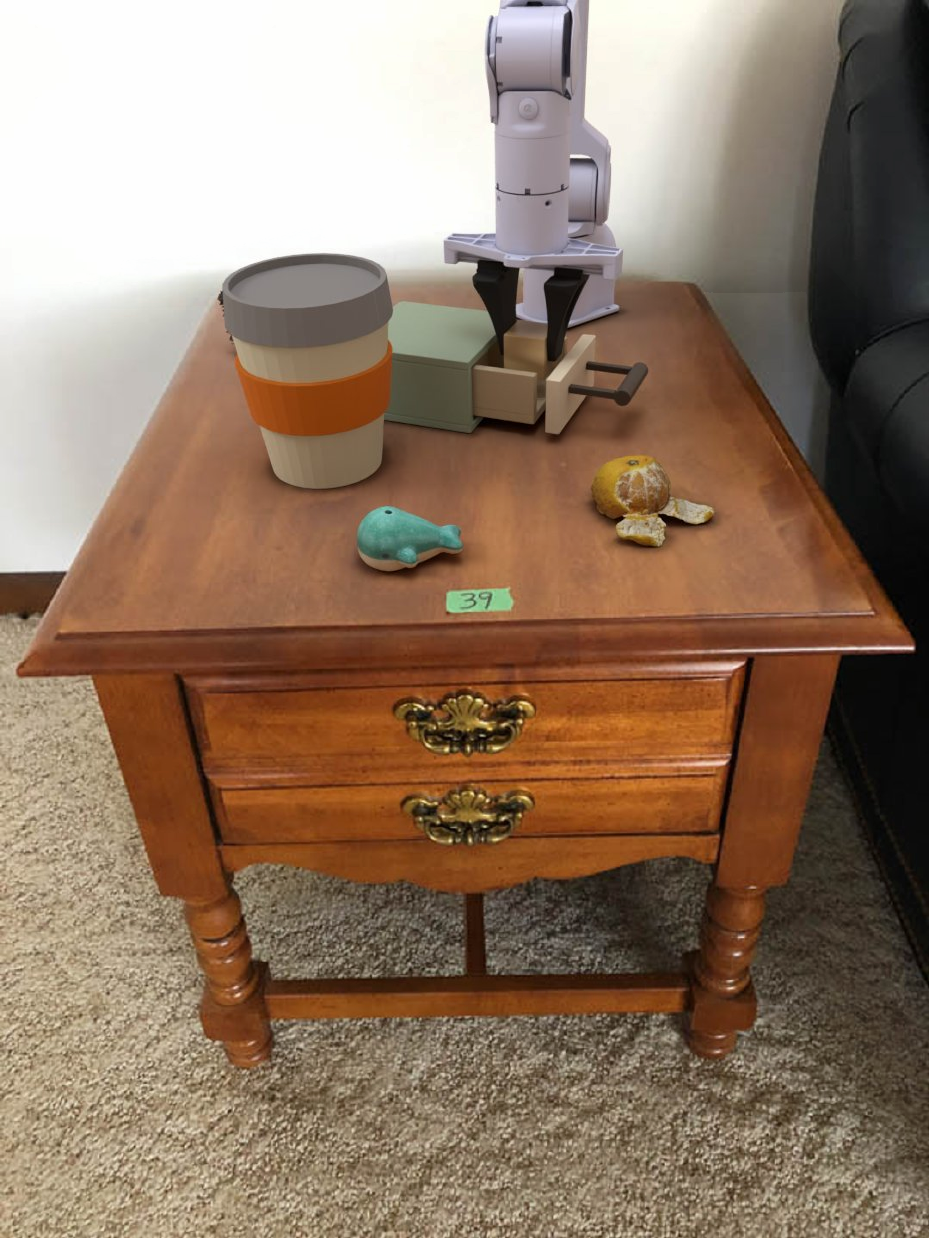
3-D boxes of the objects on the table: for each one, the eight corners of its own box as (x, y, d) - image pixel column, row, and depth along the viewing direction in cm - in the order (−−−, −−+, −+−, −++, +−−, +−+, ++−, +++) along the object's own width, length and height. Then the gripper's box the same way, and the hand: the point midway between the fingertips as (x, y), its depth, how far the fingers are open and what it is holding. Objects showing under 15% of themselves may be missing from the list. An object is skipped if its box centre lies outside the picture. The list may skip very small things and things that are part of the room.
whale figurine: (360, 537, 75) (355, 491, 73) (461, 532, 75) (459, 486, 73) (357, 582, 70) (352, 535, 68) (465, 577, 70) (463, 529, 68)
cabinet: (515, 381, 96) (515, 314, 92) (470, 433, 88) (468, 362, 84) (405, 365, 100) (400, 300, 96) (351, 415, 91) (343, 346, 87)
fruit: (637, 555, 72) (641, 509, 70) (561, 507, 77) (563, 463, 75) (721, 517, 76) (727, 473, 73) (643, 474, 81) (647, 431, 79)
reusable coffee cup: (256, 432, 89) (226, 257, 80) (401, 422, 90) (387, 247, 81) (244, 506, 79) (209, 315, 70) (407, 494, 80) (393, 303, 71)
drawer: (651, 393, 91) (656, 342, 88) (621, 444, 83) (624, 390, 81) (486, 371, 96) (485, 322, 93) (443, 417, 88) (440, 365, 86)
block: (557, 364, 89) (558, 324, 87) (543, 380, 86) (544, 339, 84) (518, 359, 90) (518, 319, 88) (503, 375, 88) (503, 334, 85)
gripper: (425, 192, 79) (433, 361, 87) (609, 206, 74) (600, 383, 82) (460, 170, 84) (465, 331, 92) (634, 182, 79) (623, 350, 87)
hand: (530, 354), depth 88 cm, fingers closed on block, 3 cm apart
